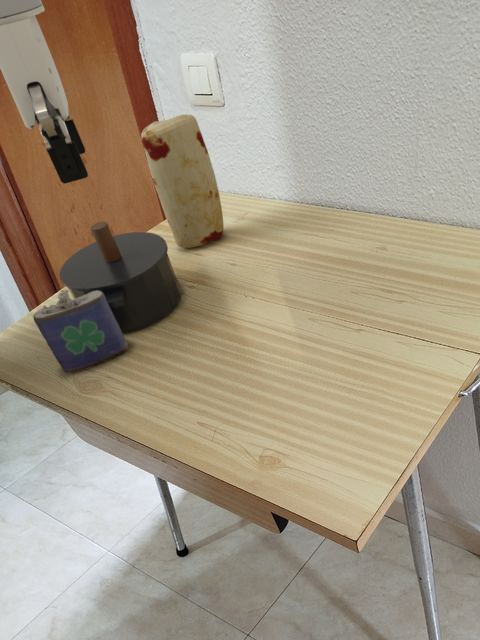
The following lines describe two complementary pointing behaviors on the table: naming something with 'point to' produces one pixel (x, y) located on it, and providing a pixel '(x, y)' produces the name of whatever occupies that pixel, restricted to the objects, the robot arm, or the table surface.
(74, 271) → the pan lid
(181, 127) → the food model
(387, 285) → the table surface
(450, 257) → the table surface
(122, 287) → the pan
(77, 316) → the flask
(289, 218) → the table surface
